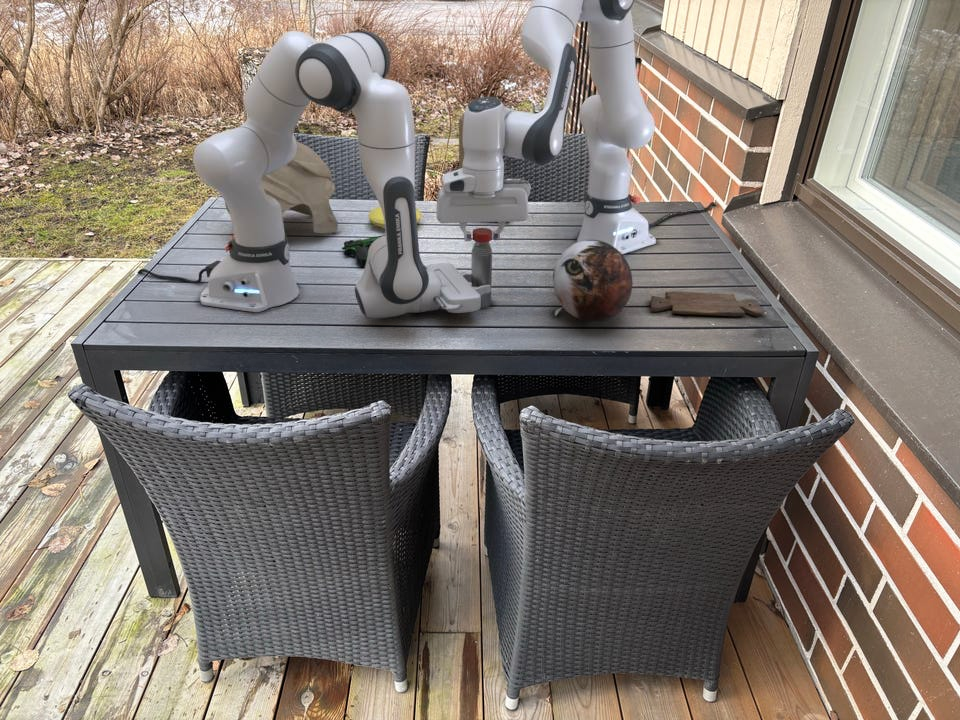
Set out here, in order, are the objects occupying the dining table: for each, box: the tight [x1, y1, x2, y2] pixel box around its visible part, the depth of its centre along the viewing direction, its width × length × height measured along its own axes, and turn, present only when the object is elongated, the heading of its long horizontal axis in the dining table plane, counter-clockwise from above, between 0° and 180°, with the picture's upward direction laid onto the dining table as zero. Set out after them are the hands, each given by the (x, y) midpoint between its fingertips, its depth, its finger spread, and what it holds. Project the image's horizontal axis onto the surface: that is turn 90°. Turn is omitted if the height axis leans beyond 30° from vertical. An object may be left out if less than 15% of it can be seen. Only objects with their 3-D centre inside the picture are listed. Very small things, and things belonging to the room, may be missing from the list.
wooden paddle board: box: [650, 291, 765, 317], centre depth 167 cm, size 26×2×10 cm
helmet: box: [224, 123, 339, 234], centre depth 198 cm, size 27×30×30 cm
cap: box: [471, 227, 493, 243], centre depth 159 cm, size 4×4×2 cm
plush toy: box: [552, 240, 633, 323], centre depth 159 cm, size 22×18×20 cm
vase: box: [367, 206, 423, 229], centre depth 210 cm, size 16×16×7 cm
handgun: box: [341, 234, 385, 268], centre depth 192 cm, size 16×3×15 cm
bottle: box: [470, 241, 493, 309], centre depth 163 cm, size 5×5×17 cm
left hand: (484, 282), depth 165 cm, fingers closed on bottle, 4 cm apart
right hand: (482, 240), depth 160 cm, fingers open, 5 cm apart
